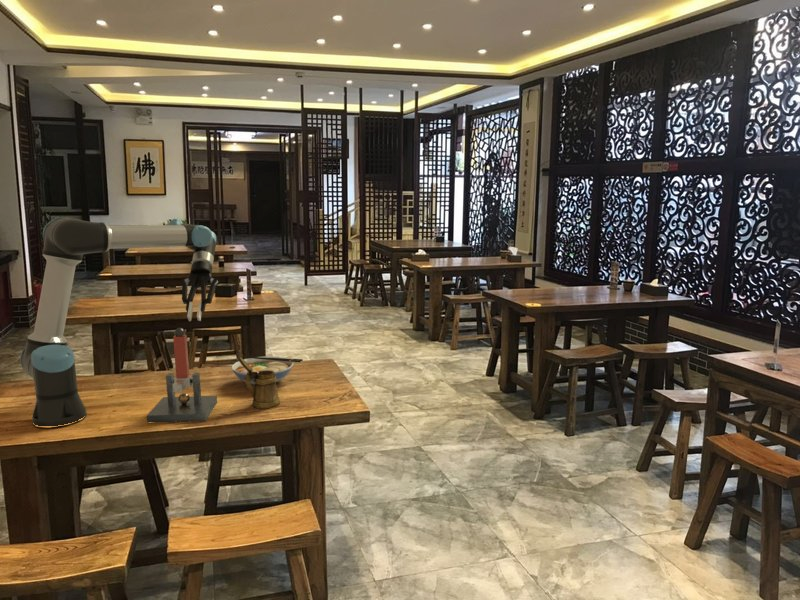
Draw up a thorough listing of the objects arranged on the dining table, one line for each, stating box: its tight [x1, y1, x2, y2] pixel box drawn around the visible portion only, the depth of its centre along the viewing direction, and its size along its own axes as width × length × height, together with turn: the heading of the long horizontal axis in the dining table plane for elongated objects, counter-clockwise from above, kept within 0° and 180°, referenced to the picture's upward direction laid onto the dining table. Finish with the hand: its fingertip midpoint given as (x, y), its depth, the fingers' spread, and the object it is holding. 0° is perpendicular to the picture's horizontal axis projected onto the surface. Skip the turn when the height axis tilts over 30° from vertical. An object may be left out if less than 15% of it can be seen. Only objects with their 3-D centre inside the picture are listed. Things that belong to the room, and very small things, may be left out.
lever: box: [172, 327, 193, 393], centre depth 198 cm, size 6×8×20 cm
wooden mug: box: [236, 355, 281, 410], centre depth 207 cm, size 9×14×18 cm, turn 105°
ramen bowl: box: [231, 355, 303, 386], centre depth 230 cm, size 25×23×8 cm
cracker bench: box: [146, 371, 218, 423], centre depth 201 cm, size 18×17×12 cm
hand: (193, 318), depth 217 cm, fingers open, 3 cm apart
